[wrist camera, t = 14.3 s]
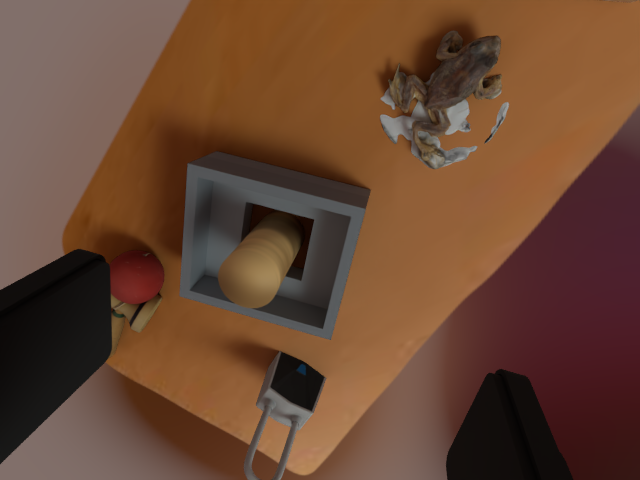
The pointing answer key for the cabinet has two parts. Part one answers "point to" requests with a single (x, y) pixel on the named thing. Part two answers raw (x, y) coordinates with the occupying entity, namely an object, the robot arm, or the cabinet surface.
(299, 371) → the padlock
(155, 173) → the cabinet surface
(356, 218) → the peg box
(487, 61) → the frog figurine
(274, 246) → the peg
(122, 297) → the kendama
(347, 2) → the cabinet surface
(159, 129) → the cabinet surface
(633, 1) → the small box
